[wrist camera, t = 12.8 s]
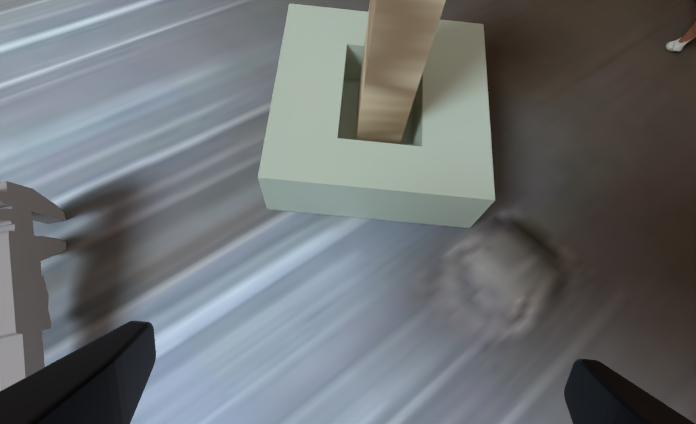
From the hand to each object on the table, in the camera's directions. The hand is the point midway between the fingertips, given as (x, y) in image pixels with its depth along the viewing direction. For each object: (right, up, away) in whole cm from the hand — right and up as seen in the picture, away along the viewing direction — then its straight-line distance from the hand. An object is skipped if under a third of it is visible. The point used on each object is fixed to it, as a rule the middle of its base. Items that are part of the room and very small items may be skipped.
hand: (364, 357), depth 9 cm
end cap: (+1, +8, +18) cm, 20 cm away
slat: (+1, +9, +17) cm, 19 cm away
